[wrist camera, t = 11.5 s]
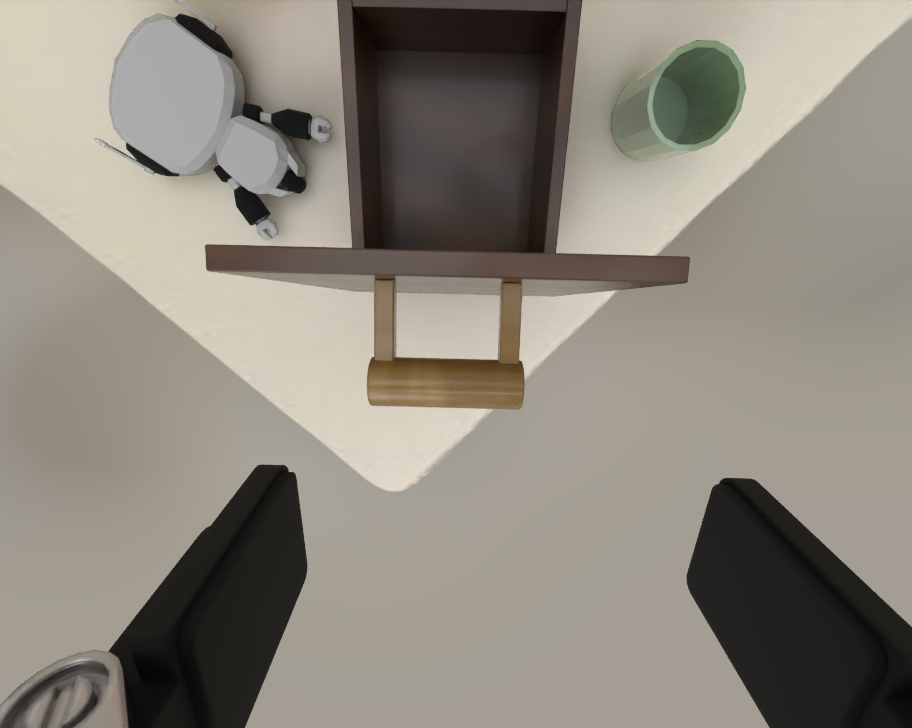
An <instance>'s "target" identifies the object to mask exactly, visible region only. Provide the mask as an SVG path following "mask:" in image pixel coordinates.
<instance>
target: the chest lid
mask: <svg viewBox="0 0 912 728" xmlns="http://www.w3.org/2000/svg"><path fill="white" fill-rule="evenodd" d="M205 251H206V269H207V271H211V272H219V273H226V274H233V275H240V276H247V277H254V278H262V279H269V280H276V281H283V282H290V283H297V284H305V285H312V286H319V287H326V288H333V289H340V290H348V291H359V292H374V357H372V358H371V360H370V363H369V367H368V374H367V395H368V400H369V403H370V405H372V406H407V407H446V408H486V409H520V408H521V406H522V403H523V397H524V368H523V364H522V362H521V361H519V346H520V324H521V302H522V296H562V295H572V294H582V293H592V292H602V291H612V290H623V289H632V288H643V287H652V286H663V285H673V284H683V283H687V281H688V271H689V262H690V258H689V257H680V256H641V255H602V254H563V253H524V252H484V251H445V250H406V249H367V248H328V247H289V246H250V245H210V244H207V245H205ZM396 292H398V293H438V294H477V295H500V315H499V341H498V360H479V359H440V358H401V357H396Z"/></svg>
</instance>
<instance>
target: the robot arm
mask: <svg viewBox="0 0 912 728" xmlns="http://www.w3.org/2000/svg"><path fill="white" fill-rule="evenodd" d="M306 574H307V558H306V550H305V542H304V534H303V526H302V518H301V511H300V504H299V495H298V487H297V479H296V475H295V473H294V472H289V471H288V468H287V467H286V466H285V465H258V466H257V467H256V468H255V469H254V470H253V471H252V473H251V474H250V475H249V477H248V478H247V480H246V481H245V482H244V483H243V484H242V486H241V487H240V488H239V490H238V491H237V492H236V494H235V495H234V496H233V498H232V499H231V500H230V501H229V503H228V504H227V505H226V507H225V508H224V509H223V511H222V512H221V513H220V514H219V516H218V517H217V518H216V520H215V521H214V522H213V524H212V525H211V526H209V527H207V528H206V529H205V530H204V531H203V532H202V533H201V534H200V535H199V536H198V537H197V539H196V540H195V541H194V543H193V544H192V545H191V546H190V547H189V549H188V550H187V551H186V553H185V554H184V555H183V557H182V558H181V559H180V560H179V562H178V563H177V564H176V565H175V567H174V568H173V569H172V571H171V572H170V573H169V575H168V576H167V577H166V578H165V580H164V581H163V582H162V583H161V585H160V586H159V587H158V589H157V590H156V591H155V592H154V594H153V595H152V596H151V598H150V599H149V600H148V601H147V603H146V604H145V605H144V607H143V608H142V609H141V610H140V612H139V613H138V614H137V615H136V617H135V618H134V619H133V620H132V622H131V623H130V624H129V626H128V627H127V628H126V630H125V631H124V632H123V633H122V634H121V636H120V637H119V638H118V640H117V641H116V642H115V643H114V645H113V646H112V647H111V649H110V650H109V651H99V650H92V651H86V652H80V653H77V654H74V655H71V656H68V657H66V658H63V659H60V660H58V661H56V662H54V663H53V664H51V665H50V666H47V667H46V668H44V669H42V670H40V671H39V672H37V673H36V674H34V675H33V676H32V677H30V678H29V679H28V680H26V681H25V682H24V683H22V684H21V685H20V686H19V687H17V689H16V690H15V691H13V692H12V693H11V695H9V697H8V698H6V699H5V700H4V701H3V703H2V704H1V705H0V728H245V726H246V724H247V721H248V719H249V716H250V714H251V711H252V709H253V706H254V704H255V702H256V699H257V697H258V694H259V692H260V689H261V687H262V684H263V682H264V679H265V677H266V675H267V672H268V670H269V667H270V665H271V662H272V660H273V658H274V655H275V653H276V650H277V648H278V645H279V642H280V640H281V638H282V636H283V633H284V631H285V628H286V626H287V623H288V621H289V618H290V616H291V614H292V611H293V608H294V606H295V604H296V601H297V599H298V596H299V594H300V592H301V589H302V587H303V584H304V581H305V578H306ZM687 585H688V588H689V591H690V593H691V595H692V597H693V598H694V600H695V602H696V603H697V605H698V607H699V608H700V610H701V612H702V614H703V615H704V617H705V619H706V620H707V622H708V624H709V626H710V627H711V629H712V630H713V632H714V634H715V636H716V637H717V639H718V641H719V642H720V644H721V646H722V648H723V649H724V651H725V653H726V654H727V656H728V658H729V659H730V661H731V663H732V665H733V666H734V668H735V670H736V671H737V673H738V675H739V677H740V678H741V680H742V682H743V683H744V685H745V687H746V688H747V690H748V692H749V693H750V695H751V697H752V699H753V700H754V702H755V704H756V705H757V707H758V709H759V710H760V712H761V714H762V716H763V717H764V719H765V721H766V722H767V724H768V726H769V727H770V728H912V627H911V626H910V625H909V624H908V623H907V622H906V621H905V620H904V619H902V618H901V617H900V616H899V615H898V614H897V613H896V612H895V611H894V610H893V609H892V608H891V607H890V606H889V605H888V604H887V603H886V602H884V601H883V600H882V599H881V598H880V597H879V596H878V595H877V594H876V593H875V592H874V591H873V590H872V589H871V588H870V587H869V586H868V585H866V584H865V583H864V582H863V581H862V580H861V579H860V578H859V577H858V576H857V575H856V574H855V573H854V572H853V571H852V570H850V569H849V568H848V567H847V566H846V565H845V564H844V563H843V562H842V561H841V560H840V559H839V558H837V556H836V555H835V554H834V553H833V552H831V551H830V550H829V549H828V548H827V547H826V546H825V545H824V544H823V543H822V542H821V541H820V540H819V539H818V538H816V536H814V535H813V534H812V533H811V532H810V531H809V530H808V529H807V528H806V527H805V526H804V525H803V524H802V523H801V522H800V521H798V519H796V518H795V517H794V516H793V515H792V514H791V513H790V512H789V511H788V510H787V509H786V508H785V507H784V506H782V504H781V503H779V502H778V501H777V500H776V499H775V498H774V497H773V496H772V495H771V494H770V493H769V492H768V491H767V490H766V489H765V488H763V487H762V486H761V485H760V484H759V483H758V482H757V481H755V480H753V479H744V478H724V479H722V480H721V481H720V483H719V484H717V485H715V486H714V487H713V488H712V491H711V495H710V498H709V501H708V504H707V508H706V511H705V515H704V518H703V521H702V525H701V528H700V532H699V535H698V539H697V542H696V545H695V549H694V552H693V555H692V559H691V562H690V566H689V569H688V573H687Z"/></svg>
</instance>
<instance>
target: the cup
mask: <svg viewBox="0 0 912 728" xmlns="http://www.w3.org/2000/svg"><path fill="white" fill-rule="evenodd" d="M745 89H746V85H745V77H744V69H743V66H742V64H741V62H740V61H739V59H738V57H737V56H736V54H735V53H734V51H733V50H732V49H730V48H728V47H727V46H725V45H723V44H722V43H720V42H718V41H711V40H696V41H694V42H692V43H689V44H687V45H685V46H682V47H680V48H678V49H676V50H675V51H673V52H672V53H671V54H669V55H668V56H666V57H665V58H664V59H662V60H661V61H659V62H658V63H656V64H655V65H654V66H652V67H651V68H649V69H648V70H646V71H645V72H644V73H642V74H641V75H639V76H638V77H636V78H635V79H634V80H633V81H632V82H631V83H630V84H629V85H627V86H626V88H625V89H624V90H623V91H622V92H621V94H620V95H619V97H618V99H617V101H616V103H615V105H614V108H613V112H612V117H611V130H612V135H613V138H614V141H615V143H616V145H617V146H618V148H619V149H620V150H621V151H622V152H623V153H624V154H625V155H627V156H629V157H631V158H633V159H637V160H654V159H659V158H664V157H668V156H673V155H678V154H682V153H687V152H691V151H696V150H698V149H701V148H703V147H706V146H708V145H711V144H713V143H714V142H715V141H716V140H718V139H719V138H720V137H721V136H722V135H723V134H724V133H725V132H727V131H728V130H729V129H730V127H731V125H732V124H733V122H734V120H735V119H736V117H737V115H738V114H739V112H740V110H741V107H742V102H743V98H744V94H745Z"/></svg>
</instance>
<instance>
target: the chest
mask: <svg viewBox="0 0 912 728" xmlns="http://www.w3.org/2000/svg"><path fill="white" fill-rule="evenodd" d="M337 5H338V21H339V37H340V54H341V70H342V86H343V103H344V119H345V135H346V151H347V168H348V184H349V200H350V217H351V233H352V248H367V249H406V250H445V251H484V252H524V253H556V245H557V236H558V226H559V217H560V207H561V198H562V188H563V178H564V169H565V159H566V150H567V140H568V131H569V121H570V112H571V102H572V93H573V83H574V74H575V64H576V55H577V45H578V36H579V26H580V16H581V7H582V0H337Z"/></svg>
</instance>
